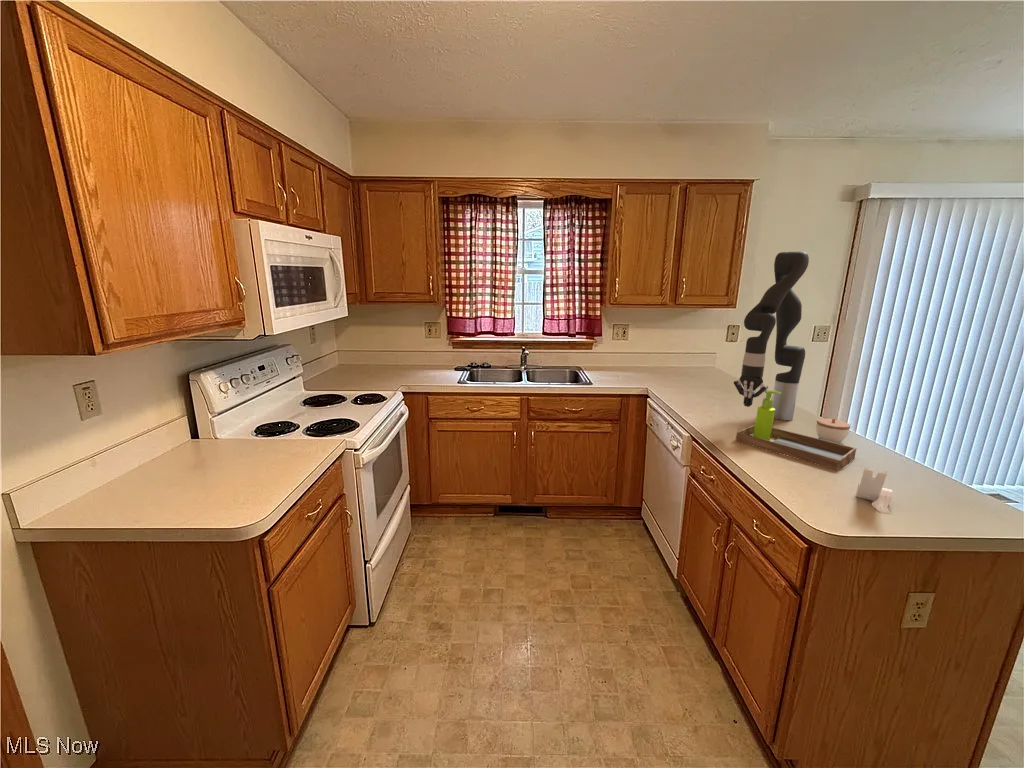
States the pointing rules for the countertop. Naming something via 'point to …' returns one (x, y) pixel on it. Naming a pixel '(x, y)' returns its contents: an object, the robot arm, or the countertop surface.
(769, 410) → the soap dispenser
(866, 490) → the plastic part
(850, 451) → the wooden tray
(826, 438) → the lidded jar
